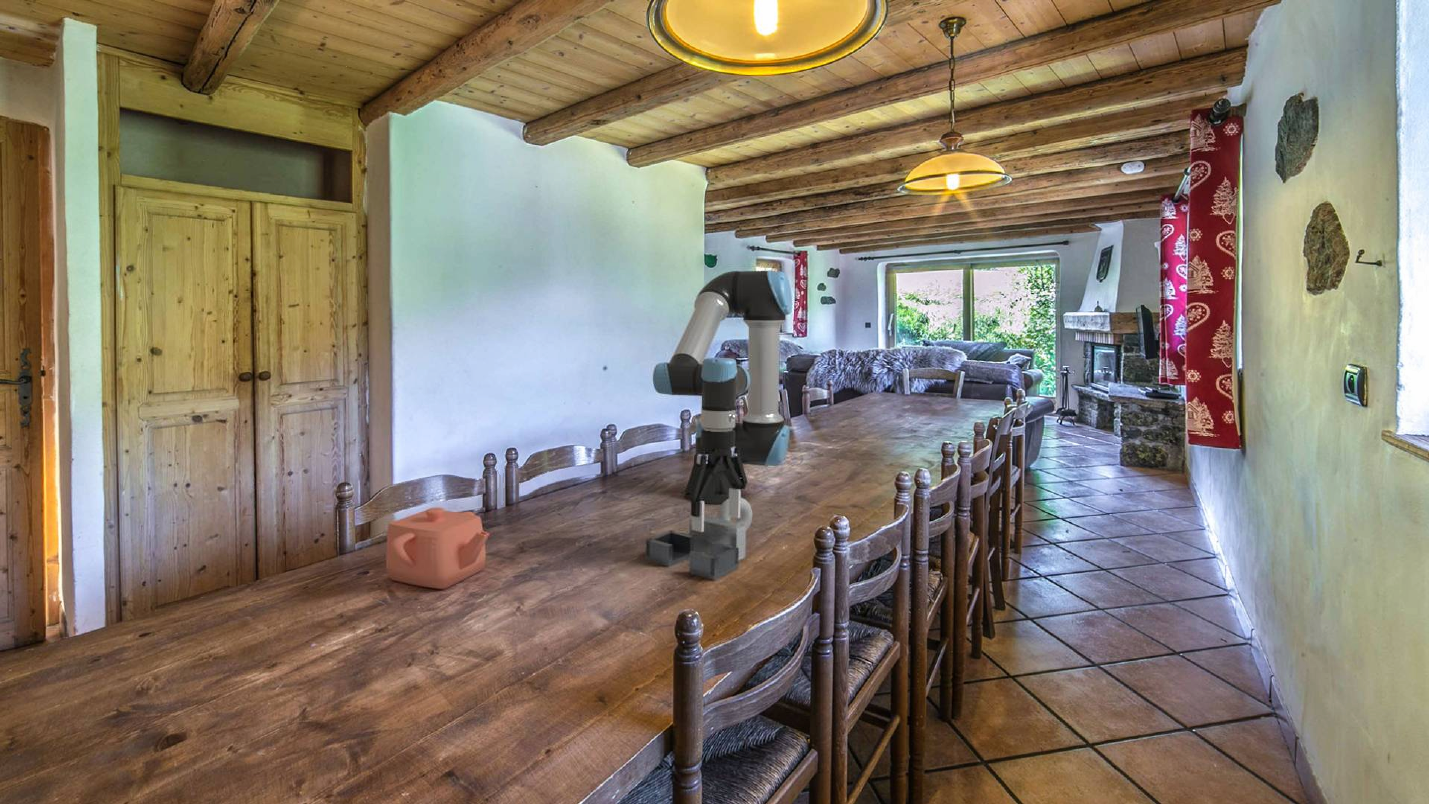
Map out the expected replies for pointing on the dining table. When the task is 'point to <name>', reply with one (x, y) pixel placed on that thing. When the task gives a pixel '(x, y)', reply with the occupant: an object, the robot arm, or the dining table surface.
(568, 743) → the dining table surface
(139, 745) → the dining table surface
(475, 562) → the teapot
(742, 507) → the donut
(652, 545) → the end link
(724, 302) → the robot arm
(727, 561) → the end link
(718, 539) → the light grey block
